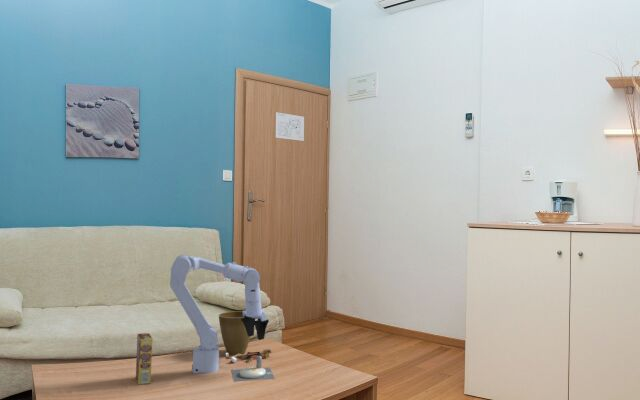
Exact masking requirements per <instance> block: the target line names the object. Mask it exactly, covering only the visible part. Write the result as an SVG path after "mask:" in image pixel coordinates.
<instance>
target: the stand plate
mask: <svg viewBox="0 0 640 400" xmlns="http://www.w3.org/2000/svg"><path fill="white" fill-rule="evenodd" d="M263 368H264V369H265V370H266V374H265V376H263V377H260V378H244V377H241V376H240V370H241V369H242V368H240V369H237V368H236V369H231V374H232V378H233V382H235V383H236V382H248V381H262V380H275V379H276V377H275V376H274V373H273V372H272V369H271V368H270V367H263Z"/></svg>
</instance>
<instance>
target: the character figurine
mask: <svg viewBox="0 0 640 400" xmlns="http://www.w3.org/2000/svg"><path fill="white" fill-rule="evenodd" d="M270 354H272V350H271V349H269V348H266V349H263V350H261V351H253V352H252V351H248V352H247V354H246V353H245V354H238V355H237V356H236V355H235V356H230V355H229V354H228V353H227V352H226V353H225V359H226V360H230V363H231V364H236V363H238V362H240V361H245V362H246V363H251V362H253V361H257V356H262V359H266V360H267V359H268V358H270Z"/></svg>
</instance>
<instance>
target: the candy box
mask: <svg viewBox="0 0 640 400" xmlns="http://www.w3.org/2000/svg"><path fill="white" fill-rule="evenodd" d="M136 339H137V340H136V359H135V360H136V363H135V367H136V368H135V379H136V381H137V383H138V385H147V384H148V385H149V384H151V380H152V362H153V361H152V360H153V359H152V357H153V341H154V339H153V337H152V336H151V334H150V333H149V332H143V333H137V337H136Z"/></svg>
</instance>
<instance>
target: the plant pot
mask: <svg viewBox="0 0 640 400" xmlns="http://www.w3.org/2000/svg"><path fill="white" fill-rule="evenodd" d="M244 317H245V316H243V311H239V310H238V311H225V312H221V313H218V321H219V328H220V334H221V338H222V342H223V345H224V348H225V351H226V353H228V354H229V356H236V355H245V354H246V351H247V348H248V346H249V343H250V340H251V337H252V336H250V337H249V336H248V334H247V331H246V328H245V326H244V324H243V322H242V321H241V318H244Z"/></svg>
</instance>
